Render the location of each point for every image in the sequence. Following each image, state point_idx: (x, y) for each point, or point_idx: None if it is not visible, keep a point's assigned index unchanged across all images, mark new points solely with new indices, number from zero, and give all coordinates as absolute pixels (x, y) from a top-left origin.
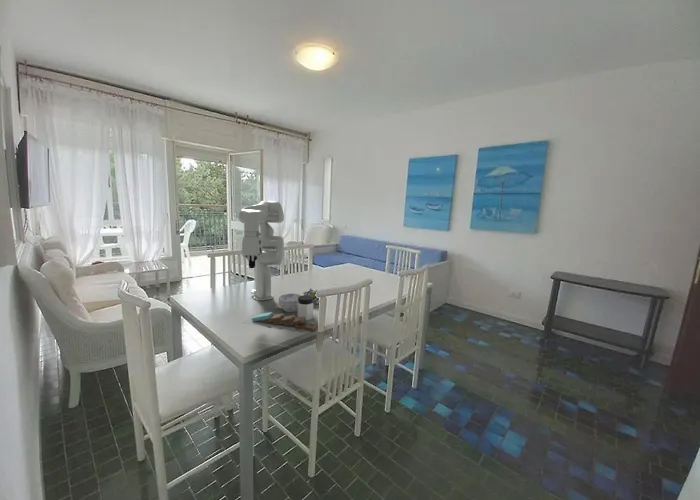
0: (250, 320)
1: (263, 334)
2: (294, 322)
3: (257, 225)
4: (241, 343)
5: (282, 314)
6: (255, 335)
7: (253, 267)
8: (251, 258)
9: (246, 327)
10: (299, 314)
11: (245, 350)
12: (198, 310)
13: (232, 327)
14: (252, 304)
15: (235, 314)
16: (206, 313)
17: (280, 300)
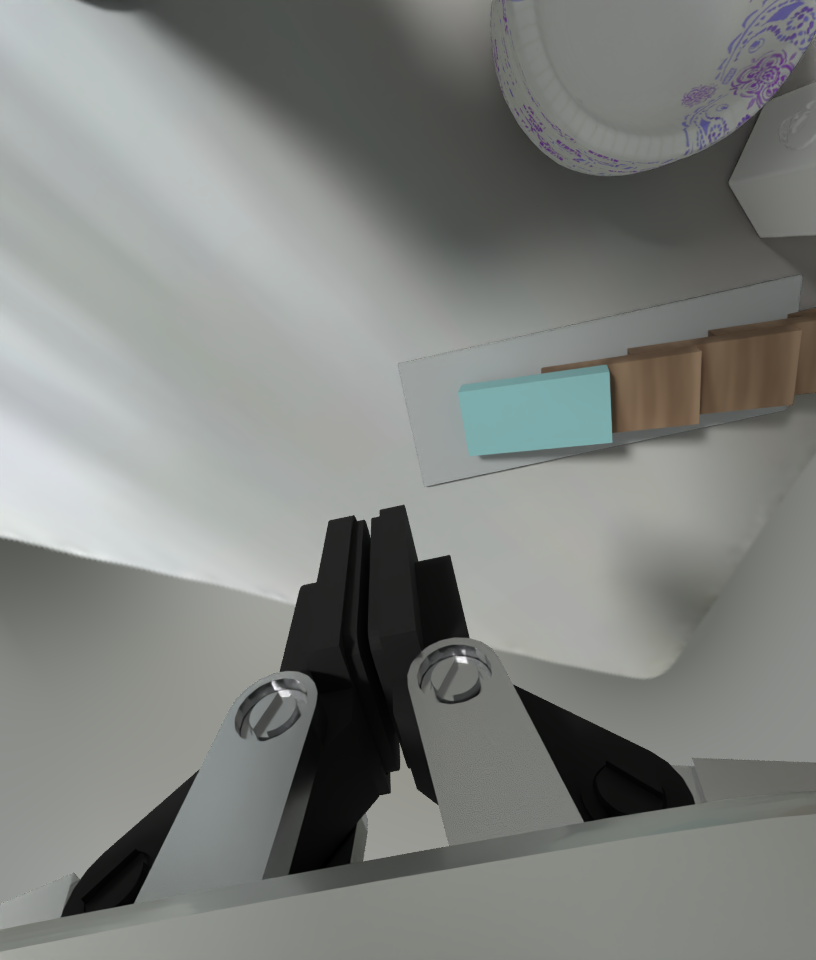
0: (447, 440)
1: (628, 524)
2: (807, 390)
3: None
4: (581, 631)
5: (700, 364)
6: (594, 552)
7: (416, 560)
8: (312, 761)
9: (488, 512)
10: (802, 234)
11: (634, 657)
12: (4, 494)
13: (418, 549)
14: (187, 148)
15: (271, 410)
16: (101, 499)
17: (584, 149)
